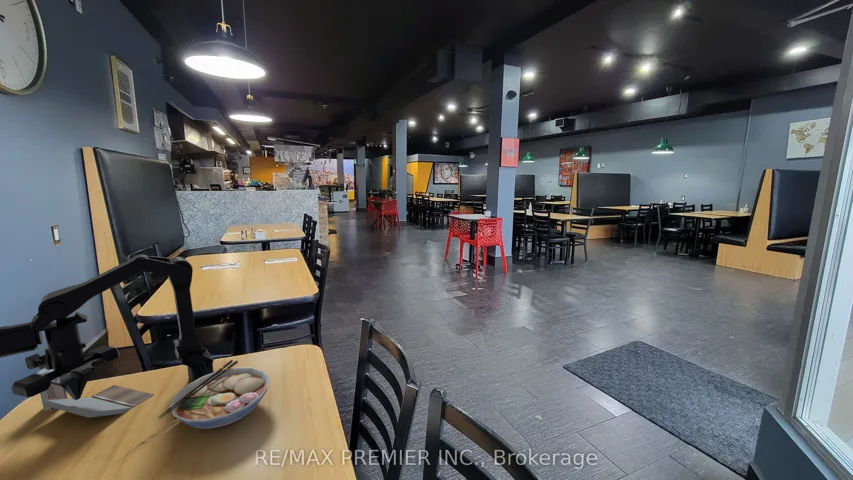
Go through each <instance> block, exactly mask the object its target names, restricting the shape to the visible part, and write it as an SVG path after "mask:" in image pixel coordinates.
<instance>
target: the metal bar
mask: <svg viewBox="0 0 853 480" xmlns="http://www.w3.org/2000/svg"><path fill="white" fill-rule="evenodd" d="M153 396H155V394H153V393H150V392H146V391H141V390H137V389H133V388H128V387H125V386H124V387H123V386H119V385H116V384H113V385H111V386H109V387H107V388H105V389H103V390H101V391H99V392H97V393H95V394H93V395H91V398H95V399H99V400H103V401H107V402H111V403H115V404H119V405H123V406H127V407H131V408H134V407H136V406H138V405H140V404H142V403H144V401H146V400H148V399H149V398H151V397H153Z"/></svg>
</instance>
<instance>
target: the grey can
mask: <svg viewBox="0 0 853 480" xmlns="http://www.w3.org/2000/svg"><path fill="white" fill-rule="evenodd" d="M50 372H53V369H51V370H47V369H46V367H45V368H42V369H39V370H38V371H37V373H36V374H38V375H42V376H43V375H46V374H48V373H50ZM39 395H40V399H41V404H42V408H43V411H44V412H46V411H47V412H51V411H54V410H56V409H55V408H52V407H48V406H45V402H46V400H58V399H69V398H68V393H67V392H66V391H65V390H64V389H63V388H62V387H61V386H58V385H54V384H51V386H50V387H49V388H48V390H46V391H44V392H41V393H39Z"/></svg>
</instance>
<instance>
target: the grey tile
mask: <svg viewBox="0 0 853 480" xmlns="http://www.w3.org/2000/svg"><path fill="white" fill-rule="evenodd" d="M45 406H48V407H52V408H55V410H61V411H63V412H67V413H70V414H74V415H77V416H82V417H84V418H95V417H97V418H98V417H104V416H113V415H121V414H122V415H123V414H125V413H126V412H128V411H130V410H131V409H132V407H130V406H126V405H122V404H118V403H114V402H110V401H106V400H102V399H98V398H94V397H92V396H89V397H88V396H87V397H81V398H80V399H78V400H74V399H73V398H72V397H71V398H68V399H58V400H46V402H45Z"/></svg>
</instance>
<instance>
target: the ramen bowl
mask: <svg viewBox="0 0 853 480" xmlns="http://www.w3.org/2000/svg"><path fill="white" fill-rule="evenodd" d="M238 363H239V361H238V360H235V361H233V359H230V360H229V361H227V362H226V363H225V364H224V365H223V366H221V367H220V368H219V369H218V370H216V371H215V372H214V373H211V374H208V375H206V376H203V377H201V378H199V379H197V380H195V381H193V382H191V381H190V382H189V383H187V384H185V386H183V387H182V388H181V389H180V390H179V391H178V392H177V393H176V394H174V396H173V398H172V400H171V402H170V403H169V405H168V406H169V408H168V409H167V410H166V411H164V412H162V414H161V415H159V416H158V417H157V419H159V420H160V419H162V418H163V417H165V416H166V415H167V414H169V413H170V412H171V414H172V415H173V417H174V418H176V420H178V421H179V422H181V423H183V424H186V425H187V426H189V427H192V428H195V429H215V428H219V427H224V426H225V427H226V426H228V425H230V424H231V425H232V423H235V422H237V421H239V420H241V419H242V418H244V417H246V416H247V415H248V414H250V413H251V412H252V411H253V410H255V409H256V408H257V406H258V404H259V403H260V401H261V400H262V399H263V398H264V396H265V395H266V393H267V390H268V389H269V387H270V385H269V384H270V376H269V375H268V374H267V373H266V372H265V371H264V370H261V369H258V368H254V367H250V366H249V367H248V366H247V367H244V366H243V367H242V366H240V367H239V366H238V367H234V366H235V365H237V364H238Z"/></svg>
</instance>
